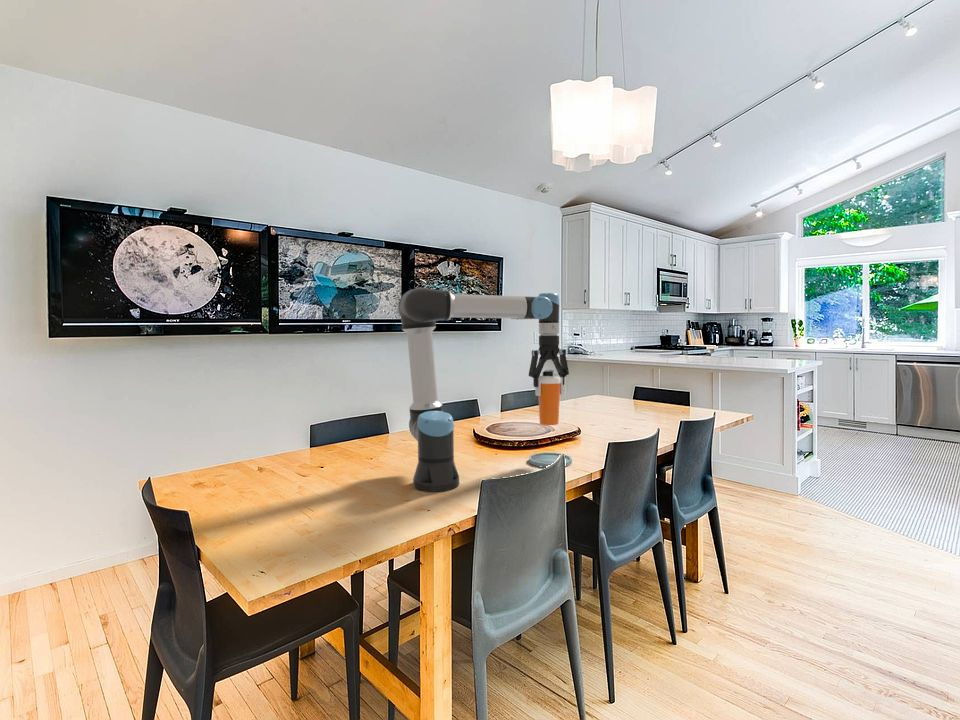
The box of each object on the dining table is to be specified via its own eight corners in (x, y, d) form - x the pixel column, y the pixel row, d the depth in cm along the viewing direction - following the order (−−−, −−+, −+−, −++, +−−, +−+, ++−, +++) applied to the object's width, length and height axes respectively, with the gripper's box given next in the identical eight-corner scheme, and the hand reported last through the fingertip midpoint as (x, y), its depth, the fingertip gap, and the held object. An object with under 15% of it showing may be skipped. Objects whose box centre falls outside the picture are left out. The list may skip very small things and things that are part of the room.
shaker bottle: (560, 421, 197) (560, 369, 195) (561, 425, 188) (561, 372, 186) (537, 421, 198) (536, 369, 196) (537, 425, 189) (537, 372, 187)
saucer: (542, 470, 183) (542, 465, 183) (521, 459, 198) (521, 455, 198) (580, 464, 190) (580, 460, 190) (556, 454, 204) (556, 450, 204)
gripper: (528, 335, 182) (528, 398, 184) (579, 334, 191) (578, 394, 193) (518, 335, 189) (518, 395, 191) (567, 334, 198) (567, 391, 200)
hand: (549, 394), depth 192 cm, fingers closed on shaker bottle, 9 cm apart
